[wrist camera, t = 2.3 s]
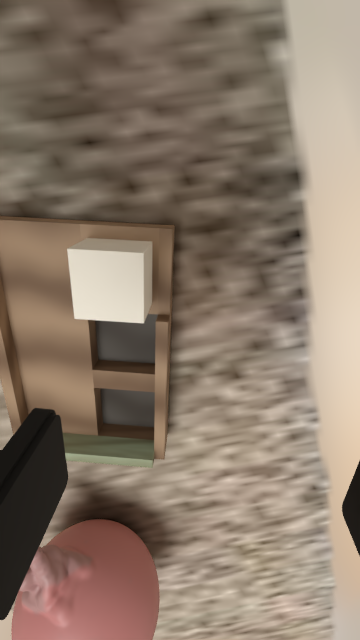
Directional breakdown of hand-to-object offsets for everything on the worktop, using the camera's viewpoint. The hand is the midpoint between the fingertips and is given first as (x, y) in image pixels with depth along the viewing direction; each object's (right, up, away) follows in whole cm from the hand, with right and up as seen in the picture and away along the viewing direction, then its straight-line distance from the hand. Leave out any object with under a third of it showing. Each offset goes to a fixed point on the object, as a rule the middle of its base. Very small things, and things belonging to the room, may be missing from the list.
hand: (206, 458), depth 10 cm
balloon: (-11, -22, +32) cm, 40 cm away
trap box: (-9, +2, +20) cm, 22 cm away
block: (-6, +8, +15) cm, 18 cm away
